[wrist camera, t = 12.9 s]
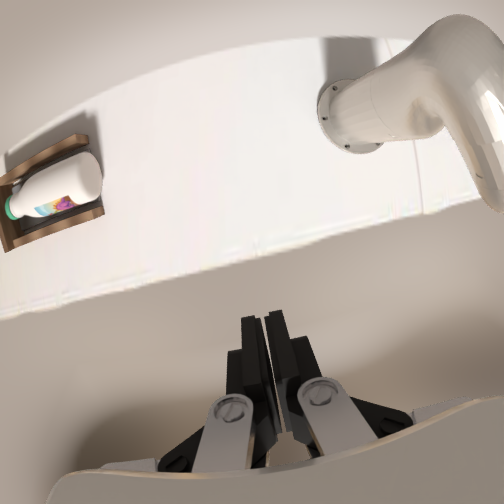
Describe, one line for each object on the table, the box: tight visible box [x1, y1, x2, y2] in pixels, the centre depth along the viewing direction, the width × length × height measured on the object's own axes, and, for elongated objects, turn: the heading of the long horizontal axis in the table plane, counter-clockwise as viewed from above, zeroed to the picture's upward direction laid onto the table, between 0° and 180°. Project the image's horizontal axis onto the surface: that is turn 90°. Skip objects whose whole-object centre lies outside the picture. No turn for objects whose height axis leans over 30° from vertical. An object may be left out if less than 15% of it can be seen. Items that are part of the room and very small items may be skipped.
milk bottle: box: [5, 152, 102, 220], centre depth 36 cm, size 8×8×20 cm
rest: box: [0, 134, 105, 253], centre depth 37 cm, size 22×14×6 cm, turn 101°
